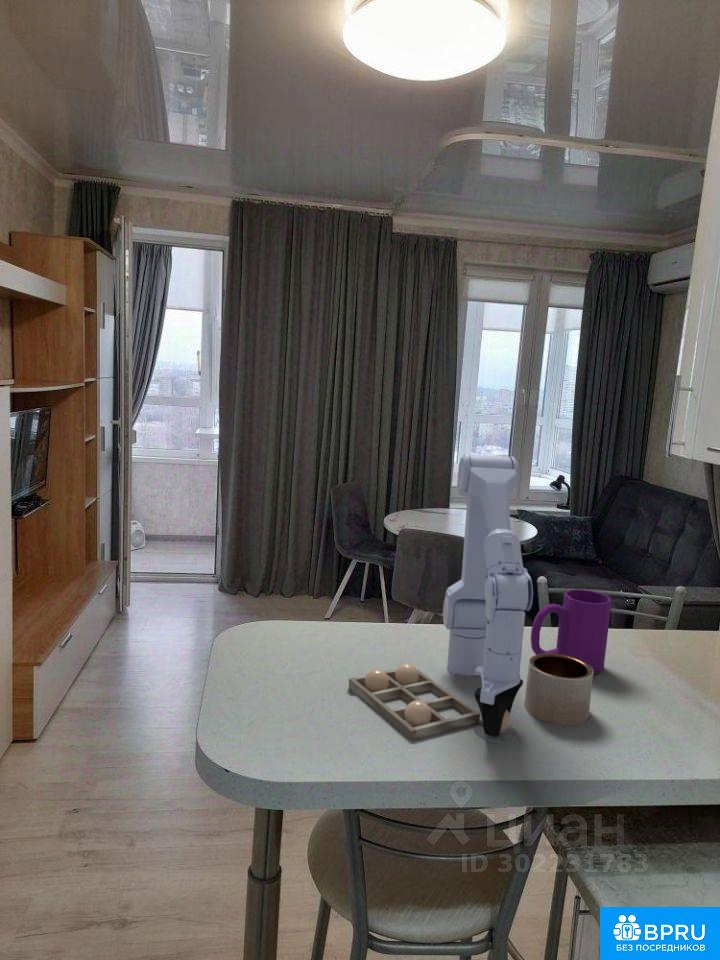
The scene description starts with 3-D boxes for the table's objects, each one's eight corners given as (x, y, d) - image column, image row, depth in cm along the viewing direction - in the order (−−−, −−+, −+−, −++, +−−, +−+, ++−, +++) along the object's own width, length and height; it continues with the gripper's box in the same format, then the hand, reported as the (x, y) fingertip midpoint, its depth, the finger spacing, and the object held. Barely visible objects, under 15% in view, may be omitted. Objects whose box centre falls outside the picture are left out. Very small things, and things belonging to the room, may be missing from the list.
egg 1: (380, 686, 127) (381, 663, 126) (393, 696, 123) (394, 673, 122) (359, 690, 125) (360, 667, 124) (371, 701, 121) (373, 677, 120)
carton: (410, 680, 132) (412, 665, 131) (478, 730, 115) (480, 713, 114) (348, 694, 125) (349, 678, 125) (410, 749, 108) (411, 731, 108)
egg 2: (409, 680, 130) (410, 657, 129) (422, 690, 126) (424, 667, 125) (389, 684, 128) (390, 661, 127) (402, 694, 124) (404, 671, 123)
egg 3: (420, 718, 116) (422, 693, 115) (435, 730, 112) (437, 705, 111) (398, 723, 114) (399, 698, 113) (413, 736, 110) (415, 710, 109)
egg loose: (496, 722, 115) (499, 697, 114) (515, 735, 111) (517, 709, 110) (476, 727, 113) (478, 702, 112) (494, 741, 109) (496, 714, 108)
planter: (569, 701, 127) (575, 651, 126) (600, 732, 117) (606, 678, 115) (513, 703, 125) (518, 653, 124) (539, 734, 115) (544, 680, 113)
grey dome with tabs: (496, 725, 117) (497, 713, 117) (526, 745, 111) (527, 733, 111) (463, 734, 113) (464, 722, 113) (492, 756, 107) (493, 743, 107)
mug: (611, 676, 139) (620, 604, 137) (536, 675, 137) (543, 602, 135) (591, 657, 148) (599, 589, 146) (521, 656, 146) (527, 587, 144)
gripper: (491, 628, 118) (485, 703, 120) (464, 657, 105) (457, 740, 107) (533, 637, 115) (525, 714, 117) (509, 668, 102) (501, 754, 104)
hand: (495, 727), depth 112 cm, fingers closed on egg loose, 4 cm apart
